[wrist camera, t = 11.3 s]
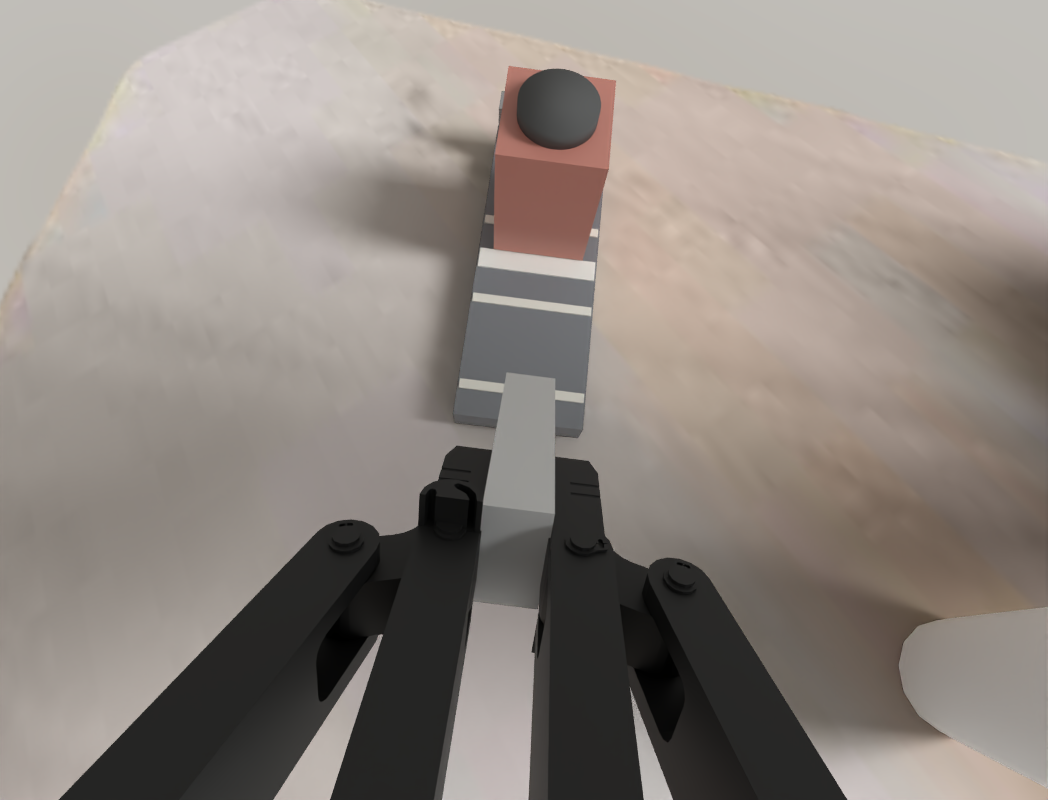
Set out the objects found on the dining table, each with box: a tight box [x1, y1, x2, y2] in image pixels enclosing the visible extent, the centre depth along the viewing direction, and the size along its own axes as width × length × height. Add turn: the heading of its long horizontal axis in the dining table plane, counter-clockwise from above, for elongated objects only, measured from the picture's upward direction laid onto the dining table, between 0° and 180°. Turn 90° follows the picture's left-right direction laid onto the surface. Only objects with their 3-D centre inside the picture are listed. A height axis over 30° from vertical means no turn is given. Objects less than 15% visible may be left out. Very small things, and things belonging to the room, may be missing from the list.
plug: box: [494, 66, 616, 261], centre depth 35 cm, size 6×6×10 cm
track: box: [453, 91, 603, 438], centre depth 38 cm, size 22×8×5 cm, turn 174°
